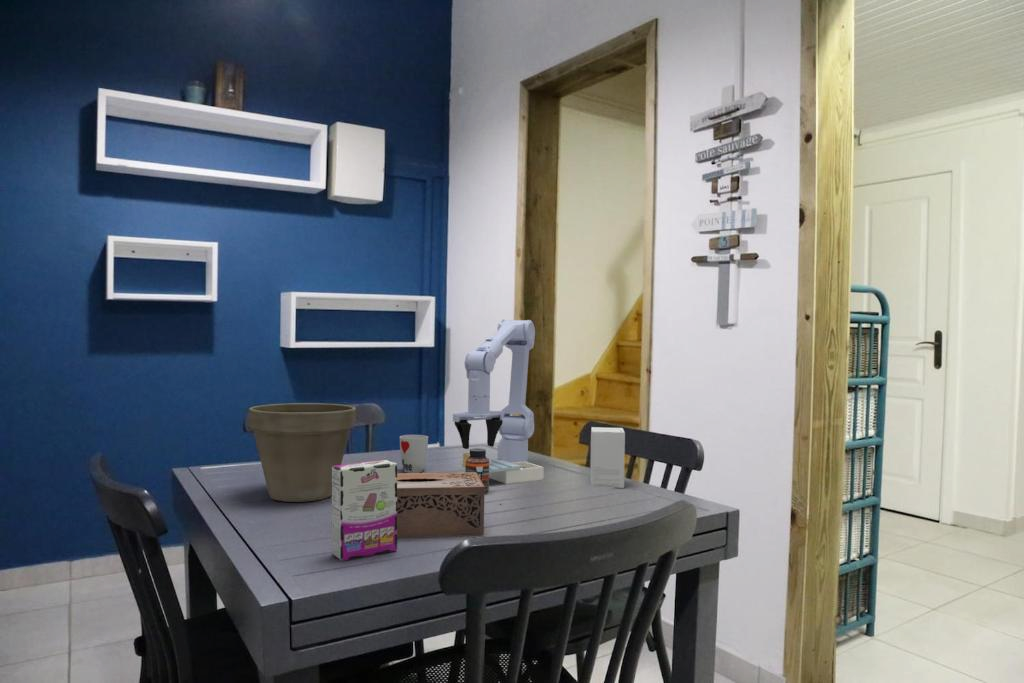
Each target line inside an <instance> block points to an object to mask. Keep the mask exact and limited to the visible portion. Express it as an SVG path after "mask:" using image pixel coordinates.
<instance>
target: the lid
mask: <svg viewBox="0 0 1024 683" xmlns="http://www.w3.org/2000/svg"><path fill="white" fill-rule="evenodd" d="M469 453H470V452H466V453H464V452H463V453H462V463H461V467H462V468H463V469H465V466H466V459H467V458H468V457H470V454H469ZM517 469H521V466H519V465H516V464H513V463H510V462H506V461H503V460H498V459H497V460H494V459H491V460H489V472H498V471H507V470H517Z"/></svg>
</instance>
